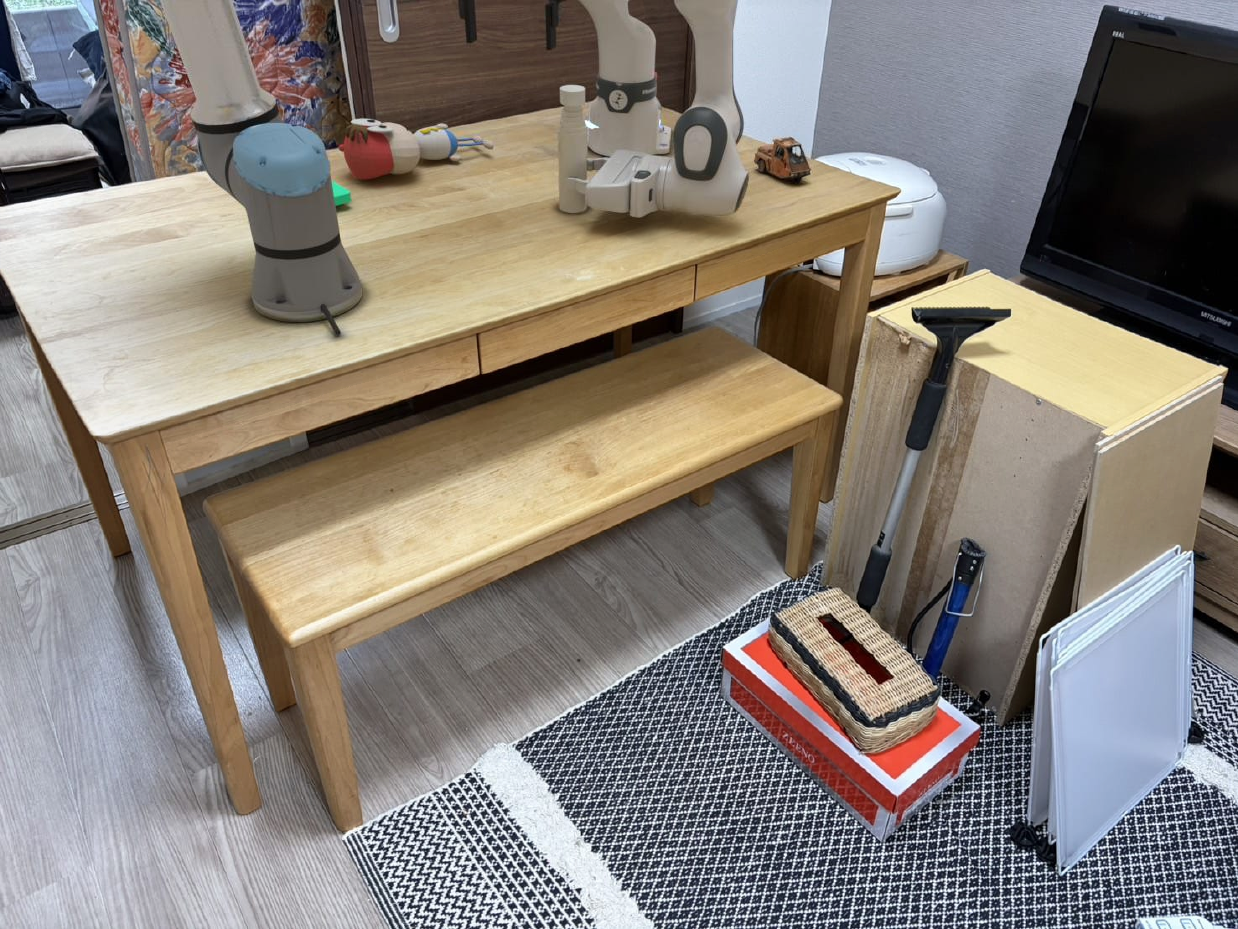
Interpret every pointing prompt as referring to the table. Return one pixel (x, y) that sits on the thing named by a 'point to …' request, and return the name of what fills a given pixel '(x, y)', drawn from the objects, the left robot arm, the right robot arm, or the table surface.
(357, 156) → the toy
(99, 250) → the table surface
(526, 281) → the table surface
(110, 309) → the table surface
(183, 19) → the left robot arm
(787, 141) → the toy car
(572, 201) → the bottle
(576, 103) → the cap
